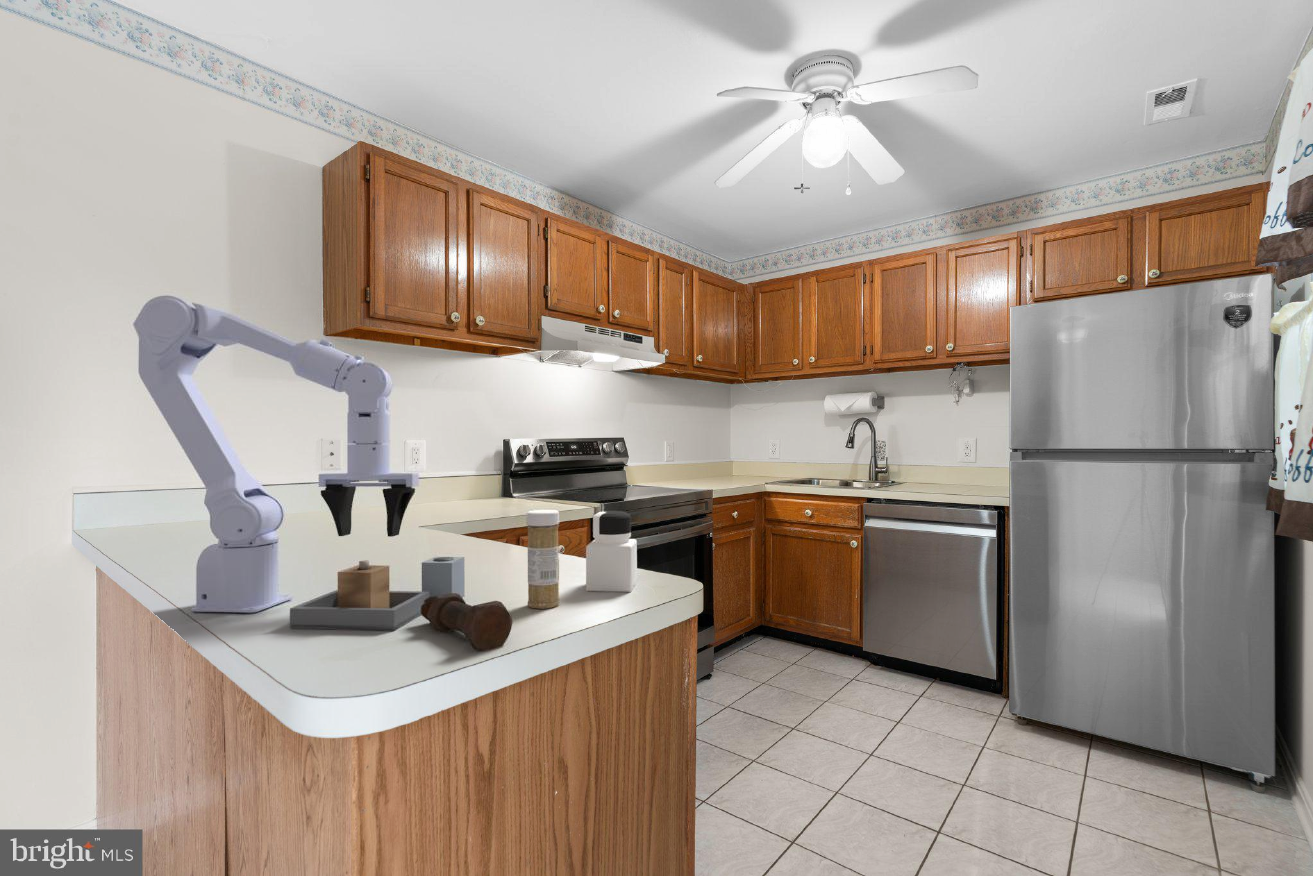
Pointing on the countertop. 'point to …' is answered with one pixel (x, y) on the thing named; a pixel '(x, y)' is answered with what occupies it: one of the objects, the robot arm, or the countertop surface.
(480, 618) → the bolt
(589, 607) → the countertop surface
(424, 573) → the oversize block
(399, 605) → the tray
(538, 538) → the sprinkles bottle
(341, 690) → the countertop surface
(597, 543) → the medicine bottle
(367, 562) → the block
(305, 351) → the robot arm
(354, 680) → the countertop surface
